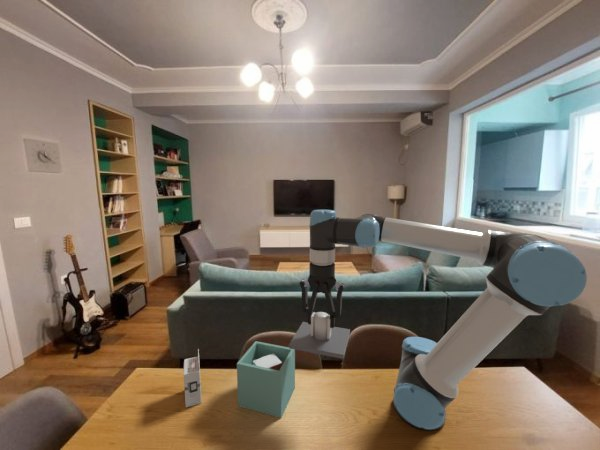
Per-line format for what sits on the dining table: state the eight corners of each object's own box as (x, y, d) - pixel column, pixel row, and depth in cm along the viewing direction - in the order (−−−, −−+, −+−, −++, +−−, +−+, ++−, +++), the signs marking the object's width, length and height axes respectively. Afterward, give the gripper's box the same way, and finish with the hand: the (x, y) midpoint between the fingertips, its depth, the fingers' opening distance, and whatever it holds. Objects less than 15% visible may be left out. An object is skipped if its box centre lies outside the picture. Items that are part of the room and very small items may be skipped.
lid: (349, 337, 87) (350, 308, 86) (343, 363, 74) (344, 331, 73) (302, 329, 92) (302, 302, 91) (289, 353, 79) (288, 322, 77)
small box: (260, 408, 86) (260, 371, 84) (252, 395, 91) (251, 360, 89) (282, 397, 90) (282, 362, 88) (274, 386, 95) (273, 352, 93)
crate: (294, 387, 94) (294, 348, 92) (281, 418, 82) (281, 373, 80) (256, 378, 99) (255, 341, 97) (238, 406, 87) (236, 363, 84)
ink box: (185, 389, 94) (183, 350, 91) (200, 385, 95) (198, 347, 93) (185, 408, 86) (182, 366, 84) (201, 403, 87) (199, 362, 85)
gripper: (353, 261, 80) (351, 333, 84) (298, 256, 85) (297, 324, 89) (350, 268, 73) (347, 347, 76) (290, 262, 78) (290, 336, 82)
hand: (321, 335), depth 83 cm, fingers closed on lid, 4 cm apart
